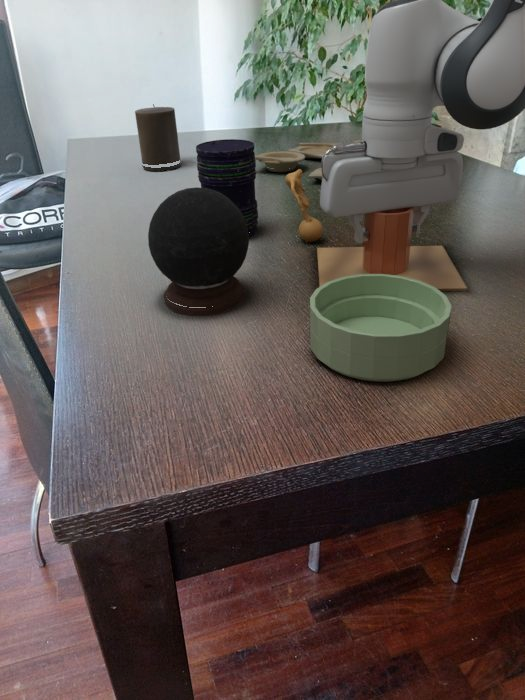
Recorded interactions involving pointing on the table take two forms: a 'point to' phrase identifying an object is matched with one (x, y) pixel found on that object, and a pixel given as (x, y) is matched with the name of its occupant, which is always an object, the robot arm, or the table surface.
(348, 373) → the bowl
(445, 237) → the table surface
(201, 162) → the storage jar
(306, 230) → the figurine
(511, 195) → the table surface
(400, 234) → the cup
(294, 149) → the tableware set
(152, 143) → the pillar candle
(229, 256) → the black ball on stand
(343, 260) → the placemat
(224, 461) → the table surface
